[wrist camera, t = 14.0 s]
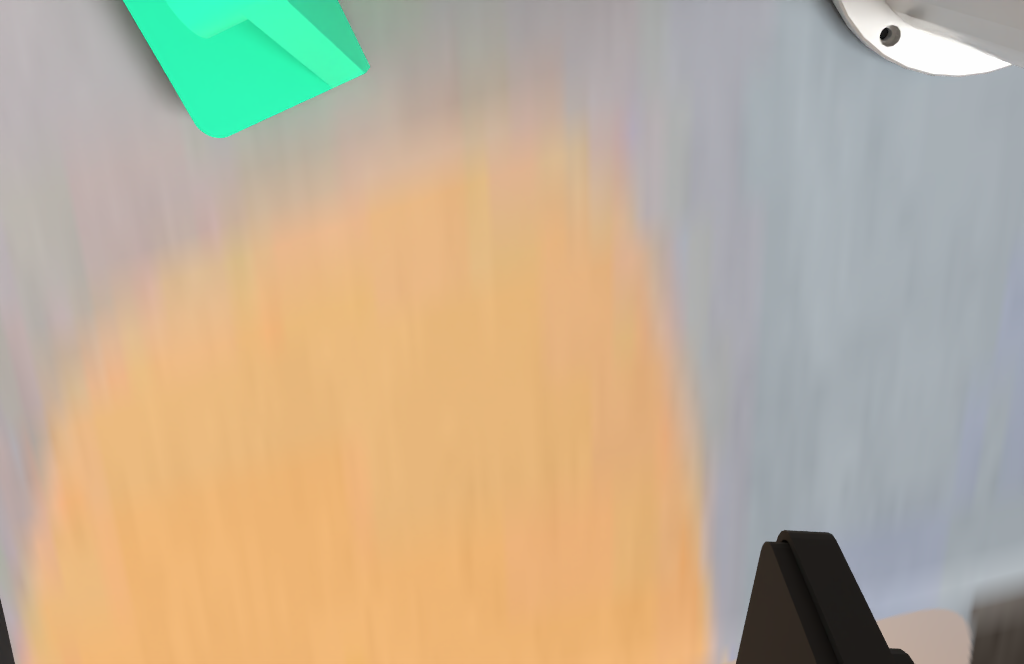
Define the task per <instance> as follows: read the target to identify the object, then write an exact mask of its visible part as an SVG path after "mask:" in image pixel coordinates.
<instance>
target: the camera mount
mask: <svg viewBox="0 0 1024 664" xmlns="http://www.w3.org/2000/svg"><path fill="white" fill-rule="evenodd" d="M123 1H124V3H125V5H126V6H127V8H128V10H129V12H130V13H131V15H132V17H133V18H134V20H135V22H136V24H137V25H138V27H139V29H140V30H141V32H142V34H143V36H144V37H145V39H146V41H147V42H148V44H149V46H150V48H151V49H152V51H153V53H154V54H155V56H156V58H157V60H158V61H159V63H160V65H161V66H162V68H163V70H164V72H165V73H166V75H167V77H168V78H169V80H170V82H171V84H172V85H173V87H174V89H175V90H176V92H177V94H178V96H179V97H180V99H181V101H182V102H183V104H184V106H185V108H186V109H187V111H188V113H189V114H190V116H191V118H192V120H193V121H194V123H195V124H196V126H197V127H198V128H199V129H200V130H201V131H202V132H203V133H205V134H207V135H209V136H211V137H216V138H224V137H228V136H230V135H232V134H235V133H237V132H239V131H241V130H243V129H245V128H248V127H250V126H252V125H254V124H256V123H258V122H261V121H263V120H265V119H267V118H269V117H271V116H274V115H276V114H278V113H280V112H282V111H285V110H287V109H289V108H291V107H293V106H295V105H298V104H300V103H302V102H304V101H306V100H308V99H311V98H313V97H315V96H317V95H319V94H321V93H324V92H326V91H328V90H330V89H332V88H334V87H337V86H339V85H341V84H343V83H345V82H347V81H350V80H352V79H354V78H356V77H358V76H360V75H363V74H365V73H366V72H367V70H368V69H369V68H370V65H369V63H368V61H367V59H366V57H365V55H364V53H363V51H362V49H361V47H360V45H359V43H358V41H357V39H356V37H355V35H354V33H353V31H352V29H351V27H350V24H349V22H348V20H347V18H346V16H345V14H344V12H343V10H342V8H341V6H340V4H339V2H338V0H123Z"/></svg>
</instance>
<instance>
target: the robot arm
mask: <svg viewBox="0 0 1024 664" xmlns="http://www.w3.org/2000/svg"><path fill="white" fill-rule="evenodd" d="M833 3H834V4H835V6H836V8H837V10H838V11H839V13H840V15H841V16H842V18H843V20H844V22H845V23H846V25H847V26H848V27H849V28H850V30H851V31H852V32H853V33H854V34H855V35H856V36H857V37H858V38H859V39H860V40H861V41H862V43H863V44H864V45H866V46H867V47H869V48H870V49H871V50H873V51H874V52H876V53H877V54H879V55H880V56H882V57H883V58H885V59H886V60H888V61H891V62H893V63H895V64H897V65H899V66H901V67H903V68H906V69H910V70H913V71H917V72H920V73H924V74H928V75H933V76H949V77H963V76H971V75H979V74H987V73H990V72H993V71H996V70H999V69H1003V68H1006V67H1009V66H1012V65H1015V66H1018V67H1021V68H1024V0H833ZM884 28H887V29H888V34H887V36H886V37H885V38H884V39H880V34H881V31H882V30H883V29H884ZM0 664H15V662H14V657H13V653H12V648H11V644H10V640H9V635H8V631H7V626H6V622H5V617H4V613H3V608H2V604H1V600H0ZM736 664H914V662H913V661H912V659H911V658H910V656H909V655H908V654H907V653H905V652H904V651H903V650H901V649H892V648H889V647H888V645H887V643H886V641H885V639H884V637H883V635H882V633H881V631H880V629H879V627H878V625H877V623H876V621H875V619H874V617H873V615H872V613H871V610H870V608H869V606H868V604H867V602H866V600H865V598H864V596H863V594H862V592H861V590H860V588H859V586H858V584H857V582H856V580H855V578H854V576H853V574H852V572H851V570H850V568H849V566H848V563H847V561H846V559H845V557H844V555H843V553H842V551H841V549H840V547H839V545H838V543H837V541H836V539H835V538H834V536H833V535H832V534H830V533H826V532H808V531H789V530H784V531H782V532H781V533H780V534H779V536H778V538H777V541H776V542H765V543H764V544H763V546H762V549H761V553H760V558H759V562H758V567H757V571H756V576H755V580H754V585H753V589H752V594H751V598H750V603H749V607H748V612H747V616H746V621H745V625H744V630H743V634H742V639H741V643H740V648H739V652H738V657H737V662H736Z"/></svg>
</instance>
